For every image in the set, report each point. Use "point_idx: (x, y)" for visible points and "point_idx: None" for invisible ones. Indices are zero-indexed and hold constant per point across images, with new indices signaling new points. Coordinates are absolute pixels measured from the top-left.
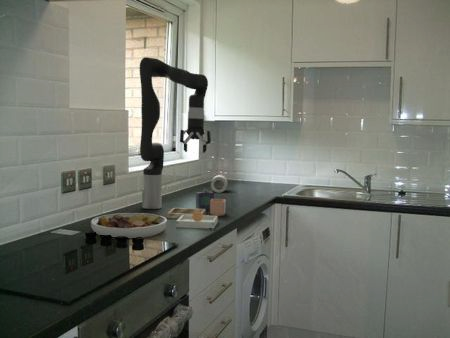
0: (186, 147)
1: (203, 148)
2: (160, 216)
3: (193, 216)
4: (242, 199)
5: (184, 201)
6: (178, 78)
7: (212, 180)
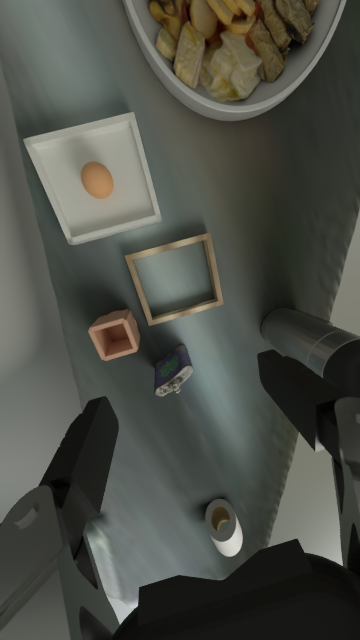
0: (283, 381)
1: (83, 430)
2: (176, 77)
3: (102, 164)
4: (149, 473)
5: (241, 408)
6: None
7: (235, 525)
